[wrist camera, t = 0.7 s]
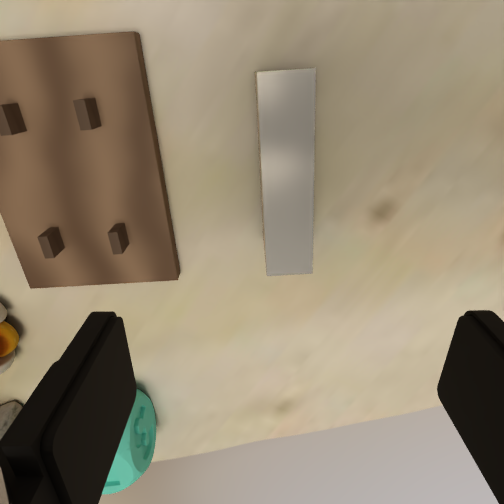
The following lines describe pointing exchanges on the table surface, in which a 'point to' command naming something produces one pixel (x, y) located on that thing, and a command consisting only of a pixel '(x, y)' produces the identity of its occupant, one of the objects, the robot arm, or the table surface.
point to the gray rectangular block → (287, 167)
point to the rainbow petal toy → (6, 341)
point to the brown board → (82, 163)
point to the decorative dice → (133, 446)
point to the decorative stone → (8, 416)
